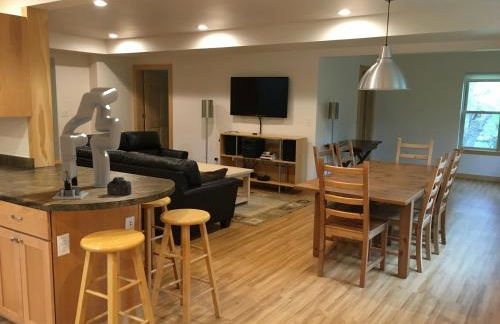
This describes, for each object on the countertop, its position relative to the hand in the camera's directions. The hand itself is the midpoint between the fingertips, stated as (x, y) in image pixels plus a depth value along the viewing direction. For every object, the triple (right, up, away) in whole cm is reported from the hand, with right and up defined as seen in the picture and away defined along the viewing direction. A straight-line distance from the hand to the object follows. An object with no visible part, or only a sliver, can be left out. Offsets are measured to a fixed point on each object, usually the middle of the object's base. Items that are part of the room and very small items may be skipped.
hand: (71, 187), depth 228 cm
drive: (0, -4, 0) cm, 4 cm away
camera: (+25, -4, +7) cm, 26 cm away
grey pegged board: (0, -5, 0) cm, 5 cm away
